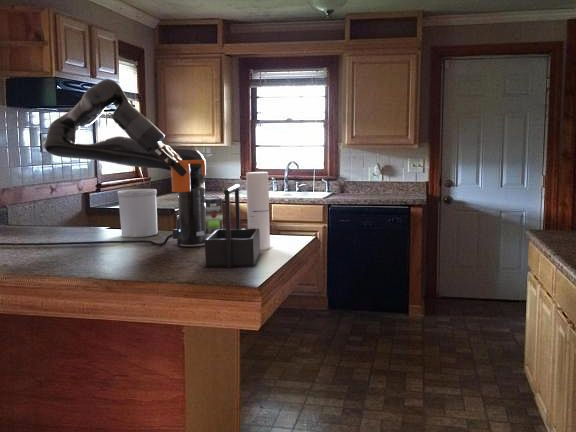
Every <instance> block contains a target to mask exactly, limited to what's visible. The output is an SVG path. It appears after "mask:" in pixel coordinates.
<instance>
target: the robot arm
mask: <svg viewBox="0 0 576 432" xmlns="http://www.w3.org/2000/svg"><path fill="white" fill-rule="evenodd" d="M112 104H113V105H114V107H115V110H114V111H113V112H112V114H111V119H112V121H113V122H114V123H115V124H116V125H117V126H118V127H119V128H120V129H121V130H122V131H124V133H126V134H127V136H128V137H127V136H121V135H119V136H113V137H109V138H107V139H104V140H101V141H98V142H95V143H88V144H87V143H77V141H78V134H79V133H78V132H79V130H80V128H81V127H88V126H90V125H91V124H93V123H94V122H95V121H96V120H97V119H98V118H99V117H100V116H101V115H102V114H103V112H104V110H105V109H107V108H109V107H110V106H111V105H112ZM165 136H166V135H165V134H164V133H163V132H162V131H161V130H160V129H159V128H158V127H157V126H156V125H155V124H154V123H153V122H152V121H151V120H150V119H148V118H147V116H146V117H145V116H144V114H142V113H141V112H140V111H139V110H137V108H136V107H134V106H133V105H132V103H131V101H130V100H129V98H128V96H127V95H126V93H125V91H124V90H123V88H122V87H121V86H120V85H119V83H118V82H117V81H115V80H113V79H110V78H105V79H102V80H100V81H99V82H97V83H96V84H94V85H91V87H89V88H88V89H87V90H86V91H85V92H84V93H83V95H82V97H81V99H80V100H79V101H78V103H77V104H75V106H73V108H72V109H70V110H69V111H68V112H66V113H64V114H63V115H62V116H60V117H58V118H56V119H55V120H53V121H52V122H51V123H50V125H49V127H48V129H47V133H46V136H45V140H44V145H43V147H44V148H43V149H44V150H45V151H46V152H47V153H48V154H50V155H52V156H54V157H55V156H56V157H60V158H67V159H68V158H69V159H79V160H80V159H81V160H93V161H98V162H104V163H105V162H106V163H111V164H116V165H121V166H128V167H135V168H145V169H146V168H147V169H161V170H165V171H170V172H171V168H173V169H174V170H175V171H176V172H177V173H178V174H179V175H181V176H184V175H185V174H186V173H187V170H186V169H185V168H184V167H183V166H181V165H180V164H179V163H177V161H188V160H205V158H204V156H203V154H202V153H201V152H200V151H199V150H197V149H196V148H195V149H194V148H177V147H171V146H170V145H168V144H164V142H163V141H164V139H165ZM190 185H191V191H189V192H177V206H178V217H177V218H176V220H175V223H176V228H174V229H172V233H171V234H169V235H168V236H166V238H165V239H164V241H163V242H161V243H159V242H156V241H154V240H149V239H148V240H146V239H141V240H140V239H137V240H136V239H135V240H134V239H133V240H97V241H96V240H92V241H89V240H88V241H64V242H63V241H61V242H59V241H58V242H0V246H64V245H65V246H67V245H68V246H69V245H71V246H72V245H97V244H98V245H99V244H143V243H145V244H152V245H155V246H165V245H166V244H167V243H168V242H169V240H170V239H171V238H172V239H173V240H176V242H177V243H176V244H177V247H183V248H197V247H199V248H200V247H205V239H206V238H207V237H208V236H207V234H206V207H205V197H206V187H205V186H206V185H205V176H202V163H201V164H190Z"/></svg>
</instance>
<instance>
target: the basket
mask: <svg viewBox="0 0 576 432" xmlns="http://www.w3.org/2000/svg"><path fill="white" fill-rule="evenodd" d="M232 193H234V211H235V212H234V213H235V228H231V202H230V199H231V198H230V195H231V194H232ZM223 194H224V217H225V218H224V220H225V228H223V229H216V230H215V231H214V232H213V233H212V234H211V235H209V236H207V238H206V239H205V246H204V257H205V268H207V269H209V268H211V269H212V268H213V269H215V268H226V269H232V268H255V265H256V263H257V261H258V259H259V257H260V255H261V250H260V231H259V229H248V228H241V211H240V184H238V183H236V184H233V185H232V186H230V187H228V188H226V189H224V190H223Z"/></svg>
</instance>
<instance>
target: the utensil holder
mask: <svg viewBox="0 0 576 432" xmlns="http://www.w3.org/2000/svg"><path fill="white" fill-rule="evenodd" d="M157 193H158V191H157V189H156V188H134V189H132V188H131V189H124V190H123V189H122V190H118V191H117V194H116V195H117V196H118V197H117V198H118V209H119V219H120V220H119V223H120V230H121V231H120V232H121V236H122V237H123V238H146V237H151V236H156V235H157V234H158V211H157V210H158V209H157Z"/></svg>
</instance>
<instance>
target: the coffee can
mask: <svg viewBox="0 0 576 432" xmlns="http://www.w3.org/2000/svg"><path fill="white" fill-rule="evenodd" d="M205 207H206V234H207V237H208V236H209V235H211V234H212V233H213V232H214V231H215V230H216V229H224V226H223V224H224V223H223V197H219V196H205Z"/></svg>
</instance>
